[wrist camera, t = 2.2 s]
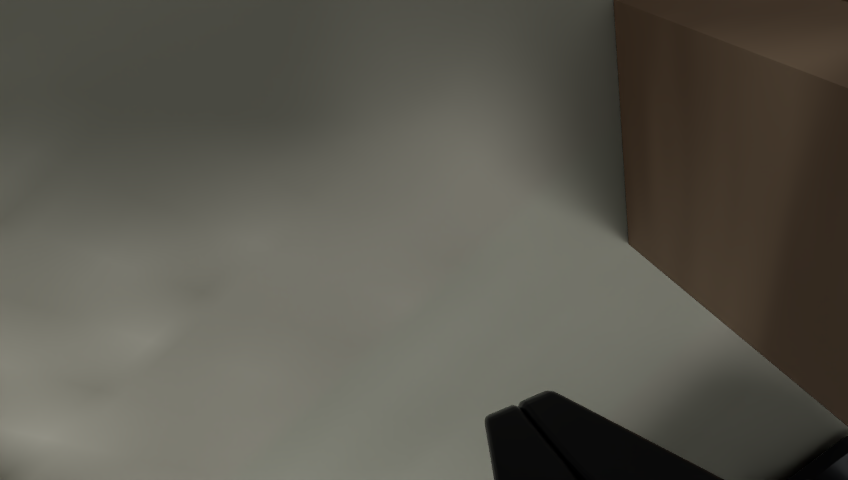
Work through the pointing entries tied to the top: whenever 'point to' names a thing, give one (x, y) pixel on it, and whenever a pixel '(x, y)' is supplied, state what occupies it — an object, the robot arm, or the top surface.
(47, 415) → the top surface
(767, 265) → the domino
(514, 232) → the top surface
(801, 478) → the robot arm
